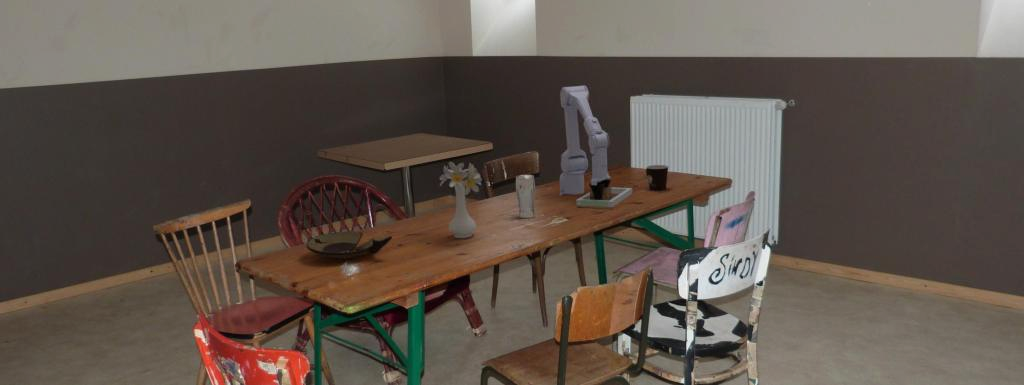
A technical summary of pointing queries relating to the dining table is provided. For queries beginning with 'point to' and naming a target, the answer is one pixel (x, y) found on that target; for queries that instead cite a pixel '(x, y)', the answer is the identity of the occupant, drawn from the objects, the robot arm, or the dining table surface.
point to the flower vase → (461, 197)
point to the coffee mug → (657, 177)
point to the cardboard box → (603, 194)
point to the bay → (604, 203)
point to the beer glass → (525, 195)
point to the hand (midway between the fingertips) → (600, 200)
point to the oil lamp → (345, 245)
